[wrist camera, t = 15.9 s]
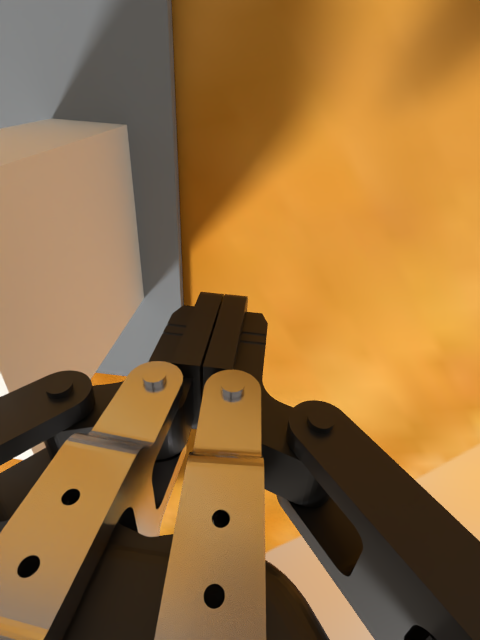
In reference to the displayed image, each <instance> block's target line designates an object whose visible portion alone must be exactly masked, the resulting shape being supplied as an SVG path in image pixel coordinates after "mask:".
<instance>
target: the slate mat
mask: <svg viewBox="0 0 480 640" xmlns="http://www.w3.org/2000/svg"><path fill="white" fill-rule="evenodd" d="M47 119H64V120H76V121H88V122H100V123H112V124H124V125H127V131H128V141H129V151H130V161H131V171H132V181H133V191H134V201H135V211H136V221H137V231H138V241H139V252H140V262H141V272H142V282H143V292H144V299H143V300H142V302H141V303H140V305H139V307H138V308H137V310H136V311H135V313H134V314H133V316H132V317H131V319H130V320H129V322H128V323H127V325H126V326H125V328H124V329H123V331H122V332H121V334H120V336H119V337H118V339H117V340H116V342H115V343H114V345H113V346H112V348H111V349H110V351H109V352H108V354H107V355H106V357H105V358H104V360H103V361H102V363H101V365H100V366H99V368H98V369H97V371H96V373H105V374H113V375H121V376H128V374H129V373H130V372H131V371H132V370H133V369H134V368H136V367H137V366H139V365H141V364H144V363H147V362H148V361H149V359H150V357H151V355H152V353H153V351H154V349H155V347H156V345H157V343H158V341H159V339H160V337H161V335H162V334H163V331H164V329H165V327H166V326H167V323H168V321H169V319H170V317H171V315H172V313H174V312H175V311H176V310H178V309H179V308H180V307H182V306H183V305H184V302H183V277H182V253H181V228H180V203H179V178H178V153H177V128H176V104H175V79H174V54H173V29H172V4H171V0H0V129H1V128H6V127H11V126H16V125H21V124H26V123H31V122H36V121H41V120H47Z"/></svg>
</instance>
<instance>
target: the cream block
mask: <svg viewBox="0 0 480 640" xmlns="http://www.w3.org/2000/svg"><path fill="white" fill-rule="evenodd" d="M143 299H144V292H143V282H142V272H141V262H140V252H139V241H138V231H137V221H136V211H135V201H134V191H133V181H132V171H131V161H130V151H129V141H128V131H127V125H124V124H112V123H100V122H88V121H76V120H64V119H47V120H41V121H36V122H31V123H26V124H21V125H16V126H11V127H6V128H1V129H0V397H1V396H3V395H6V394H8V393H10V392H12V391H14V390H17V389H19V388H21V387H23V386H25V385H28V384H30V383H32V382H34V381H36V380H39V379H41V378H43V377H45V376H48V375H50V374H53V373H56V372H60V371H67V370H72V371H79V372H82V373H84V374H86V375H87V376H88V377H89V378H90V380H91V378H92V377H93V375H94V374H95V372H96V371H97V369H98V368H99V366H100V365H101V363H102V361H103V360H104V358H105V357H106V355H107V354H108V352H109V351H110V349H111V348H112V346H113V345H114V343H115V342H116V340H117V339H118V337H119V336H120V334H121V332H122V331H123V329H124V328H125V326H126V325H127V323H128V322H129V320H130V319H131V317H132V316H133V314H134V313H135V311H136V310H137V308H138V307H139V305H140V303H141V302H142V300H143ZM44 448H46V447H45V444H44V442H42V443H40V444H38V445H36V446H35V447H33V448H31V449H29V450H27V451H25V452H24V453H22V454H20V455H18V456H16V457H15V458H14V459H21V460H25V459H26V458H28V457H30V456H32V455H33V454H35V453H37V452H39V451H41V450H42V449H44Z"/></svg>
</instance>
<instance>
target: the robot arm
mask: <svg viewBox="0 0 480 640" xmlns="http://www.w3.org/2000/svg"><path fill="white" fill-rule="evenodd" d="M247 302H248V297H247V296H237V295H227V294H225V295H224V294H217V293H207V292H201V293H200V295H199V297H198V299H197V302H196V304H195V307H194V306H184V305H183V306H182V307H180V308H179V309H178V310H176V311H175V312H174V313H172V315H171V317H170V319H169V321H168V323H167V326H166V327H165V329H164V331H163V334H162V335H161V337H160V339H159V341H158V343H157V345H156V347H155V349H154V351H153V353H152V355H151V357H150V359H149V361H148V362H147V363H144V364H141V365H139V366H137V367H136V368H134V369H133V370H132V371H131V372H130V373H129V374H128V376H127V377H126V379H125V380H124V381H123V382H119V383H113V384H105V385H96V386H92V383H91V380H90V378H89V377H88V376H87V375H86V374H84V373H82V372H79V371H72V370H67V371H60V372H56V373H53V374H50V375H48V376H45V377H43V378H41V379H39V380H36V381H34V382H32V383H30V384H28V385H25V386H23V387H21V388H19V389H17V390H14V391H12V392H10V393H8V394H6V395H3V396H1V397H0V465H2V464H4V463H6V462H7V461H9V460H11V459H13V458H15V457H16V456H18V455H20V454H22V453H24V452H25V451H27V450H29V449H31V448H33V447H35V446H36V445H38V444H40V443H42V442H44V444H45V447H46V448H44V449H42V450H41V451H39V452H37V453H35V454H33V455H32V456H30V457H28V458H26V459H25V460H23V461H21V462H19V463H18V464H16V465H14V466H12V467H11V468H9V469H7V470H5V471H3V472H2V473H0V640H330V639H329V638H328V636H327V634H326V633H325V631H324V629H323V628H322V626H321V624H320V622H319V621H318V619H317V618H316V616H315V614H314V612H313V611H312V609H311V607H310V606H309V604H308V602H307V601H306V599H305V598H304V597H303V595H302V594H301V593H300V591H299V590H298V589H297V587H296V586H295V585H294V584H293V583H292V582H291V581H290V580H289V579H288V578H287V576H286V575H284V574H283V573H282V572H281V571H279V570H278V569H277V568H276V567H275V566H273V565H272V564H271V563H269V562H267V561H266V560H265V498H264V489H266V490H268V491H270V492H272V493H274V494H276V495H277V499H278V501H279V503H280V505H281V507H282V508H283V510H284V511H285V513H286V514H287V515H288V517H289V518H290V520H291V521H292V522H293V524H294V525H295V527H296V528H297V530H298V531H299V532H300V534H301V535H302V537H303V538H304V539H305V541H306V542H307V544H308V545H309V546H310V548H311V549H312V551H313V552H314V554H315V555H316V557H317V558H318V559H319V561H320V562H321V564H322V565H323V566H324V568H325V569H326V571H327V572H328V574H329V575H330V576H331V578H332V579H333V581H334V582H335V584H336V585H337V586H338V588H339V589H340V591H341V592H342V594H343V595H344V596H345V598H346V599H347V601H348V602H349V603H350V605H351V606H352V607H353V609H354V611H355V612H356V613H357V615H358V616H359V618H360V619H361V621H362V622H363V623H364V625H365V626H366V628H367V629H368V630H369V632H370V633H371V635H372V636H373V638H374V639H375V640H480V541H479V540H478V539H477V538H475V537H474V536H473V535H472V534H471V533H470V532H469V531H468V530H467V529H466V528H465V527H464V526H463V525H462V524H460V522H459V521H457V520H456V519H455V518H454V517H453V516H452V515H451V514H450V513H449V512H448V511H447V510H446V509H445V508H444V507H443V506H442V505H441V504H439V503H438V502H437V501H436V500H435V499H434V498H433V497H432V496H431V495H430V494H429V493H428V492H427V491H426V490H425V489H424V488H423V487H421V486H420V485H419V484H418V483H417V482H416V481H415V480H414V479H413V478H412V477H411V476H410V475H409V474H408V473H407V472H406V471H405V470H404V469H402V468H401V467H400V466H399V465H398V464H397V463H396V462H395V461H394V460H393V459H392V458H391V457H390V456H389V455H388V454H387V453H386V452H384V451H383V450H382V449H381V448H380V447H379V446H378V445H377V444H376V443H375V442H374V441H373V440H372V439H371V438H370V437H369V436H368V435H366V434H365V433H364V432H363V431H362V430H361V429H360V428H359V427H358V426H357V425H356V424H355V423H354V422H353V421H352V420H351V419H350V418H349V417H347V416H346V415H345V414H344V413H343V412H342V411H341V410H340V409H338V408H337V407H335V406H333V405H331V404H329V403H326V402H322V401H315V400H313V401H305V402H302V403H300V404H298V405H296V406H295V407H294V408H293V407H290V406H288V405H285V404H283V403H281V402H279V401H277V400H275V399H274V398H273V397H271V396H270V395H269V394H268V393H267V391H266V390H265V388H264V386H263V383H262V375H263V365H264V355H265V345H266V335H267V325H268V323H267V321H266V320H265V318H264V316H263V314H262V313H252V312H247ZM191 428H192V429H197V431H196V437H195V443H194V448H193V452H190V453H189V456H188V460H187V464H186V470H185V475H184V481H183V486H182V491H181V497H180V502H179V508H178V513H177V519H176V524H175V529H174V534H171V535H163V536H159V532H160V525H161V521H162V517H163V514H164V511H165V509H166V506H167V503H168V500H169V498H170V495H171V492H172V490H173V487H174V484H175V482H176V479H177V476H178V474H179V471H180V468H181V465H182V463H183V460H184V457H185V455H186V449H187V446H186V444H187V441H188V438H189V434H190V431H191Z"/></svg>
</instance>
